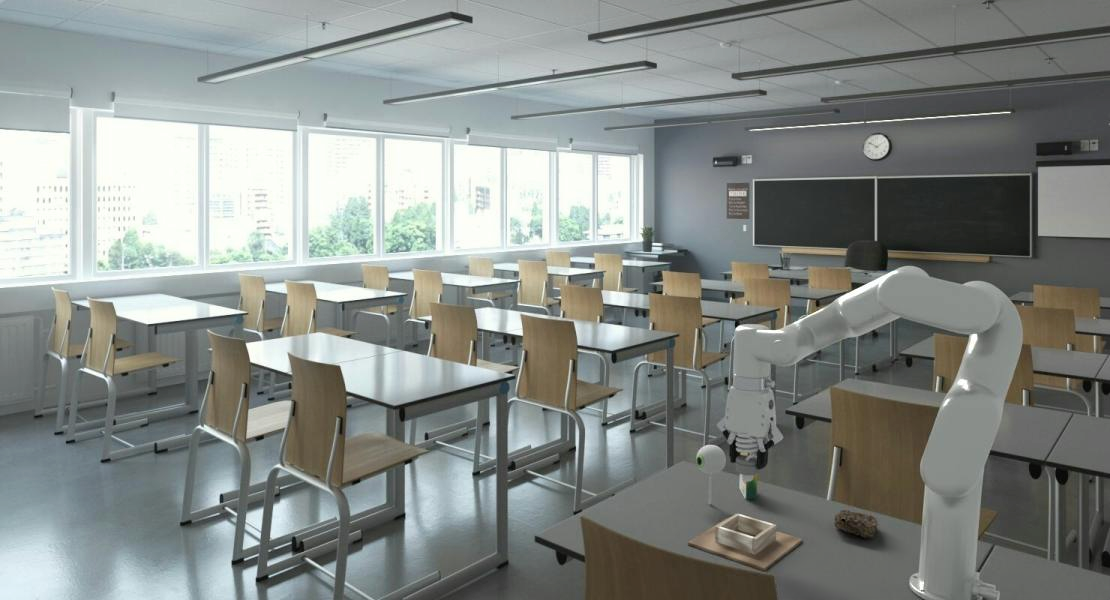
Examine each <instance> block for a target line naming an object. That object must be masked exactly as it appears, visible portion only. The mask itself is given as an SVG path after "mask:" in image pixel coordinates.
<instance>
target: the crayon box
mask: <svg viewBox="0 0 1110 600" xmlns="http://www.w3.org/2000/svg"><path fill="white" fill-rule="evenodd" d="M744 454H746V455H747V453H741V452H740V455H744ZM751 454H753V453H751ZM758 476H759V473H758V474H756V475H754V478H753V480H752V481H750V482H746V481H744V480H743V479H742V474H740V473H739V484H738V485H739V486H738V487H739V489H738V490H739V491H740V492H741V494H742V497H743V498H744V499H745V500H753V501H754V500H757V495H758V494H757V493H758Z"/></svg>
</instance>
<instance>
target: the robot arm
mask: <svg viewBox="0 0 1110 600" xmlns="http://www.w3.org/2000/svg"><path fill="white" fill-rule="evenodd" d="M900 318H903V319H905V320H907V321H908V320H909V321H912V322H916V323H919V324H923V325H927V326H930V327H934V328H938V329H941V330H945V331H949V332H953V333H956V334H961V335H969V336H968V342H967V344H966V348H965V351H964V353H963V356H962V358H961V359H962V360H961V363H960V365H959V368H958V372H957V373H956V374H957V375H956V377H955V379H954V381H953V384H952V386H951V387H950V389H949V390H948V392H947V394H945V396H944V398H943V400H942V403H941V404H940V407H939V409H938V412H937V416H936V417H935V420H934V424H933V427H932V430H931V432H930V434H929V436H928V439H927V440H928V441H927V443H926V446H925V448H924V451H923V454H922V457H921V460H920V463H919V464H920V465H919V467H920V468H919V469H920V470H919V471H920V472H919V473H920V476H921V478H922V481H923V483H924V494H923V506H922V507H923V508H922V516H921V517H922V521H921V536H920V548H919V549H920V551H919V562H918V563H919V564H918V565H919V566H918V572H915V573H913V574H912V575H911V576H910V577H909V588H910V590H911V591H912V592H913V593H914V594H915V595H916V596H918V597H920V598H921V599H922V600H983V598H986V599H987V600H1000V596H1001V592H1000V591H999V590H996V588H997V587H996V585H995V584H991V583H985V582H983V581H982V580H981V579H980V572H978V571H976V565H977V564H976V563H977V552H978V540H979V539H978V537H979V524H980V517H981V516H980V515H981V514H980V513H981V503H982V502H981V501H982V491H983V482H984V481H983V480H984V473H985V465H986V462H987V460H988V457H989V455H990V452H991V449H992V447H993V444H994V442H995V440H996V439H995V438H996V436H997V433H998V431H999V428H1000V424H1001V421H1002V417H1003V413H1004V404H1005V400H1006V397H1007V395H1008V391H1009V389H1010V385H1011V383H1012V380H1013V378H1014V373H1015V370H1016V368H1017V364H1018V362H1019V358H1020V354H1021V351H1022V346H1023V338H1024V330H1023V323H1022V319H1021V316H1020V314H1019V311H1018V309H1017V307H1016V305H1015V304H1014V303H1013V301H1012V300H1011V299H1010V297H1008V296H1007V294H1005V293H1004V292H1003V291H1002V290H1001V289H999V287H997V286H995V285H994V284H992V283H989V282H987V281H982V280H972V281H968V282H965V283H963V284H962V283H959V282H958V283H957V282H952V281H949V280H945V279H940V278H936V277H934V276H929V274H928V273H927V271H925V270H924V269H922V268H920V267H917V266H913V265H903V266H901V267H897V268H896V269H894V270H892V271H889V272H888V273H886V274H884V275H882V276H879V277H878V278H875V279H873V280H871V281H870V282H867V283H866V284H864V285H861V286H859V287H858V288H856V289H852V291H849V292H847V293H845V294H843V295H841V296H839V297H838V298H835V300H834V301H832V302H831V303H830V304H828V305H827V306H825V307H823V308H820V309H819V310H817V311H815V312H813V313H811V314H809V315H807V316H804V317H803V318H801V319H799V320H796V321H795V322H793V323H790V324H788V325H786V326H784V327H782V328H778V329H773V330H771V329H770V328H769V327H768V326H766V325H763V324H756V323H755V324H754V323H745V324H740V325H737V327H736V328H735V330H734V333H733V334H734V335H733V337H734V338H733V365H732V366H733V368H732V369H733V371H732V385H731V386H730V387H729V390H728V394H727V397H726V398H727V399H726V406H725V415H724V416H723V417H722V418H721V419H720V420H719V421H718V422H717V423H716V426H717V428H718V429H719V430H720V432H722V435H723V436H724V437H725V439H726V440H727V441H726V442H727V443H728V444H729V450H728V451H729V452H728V454H729V458H730V460H729V461H730V463H731V464H734V463H735V461H736V457H737V456H739V455H741V452H738V451H737V450H736V448H737V446H736V442H738V441H736V438H737V437H739V436H737V433H742V434H749V435H750V436H751V437H750V438H754V437H755V438H757V442H758V445H759V451H757V452H756V453H757V469H759V470H760V471H761V470H762V469H764V468H766V466H767V465H768V463H769V450H770V449H771V448H772V447H774V446H775V445H777V443H780V442H781V441H782V440H783V439H784V436H783V434H782V432H781V431H780V429H779V428H778V427H777V412H776V402H775V396H774V391H773V390H772V389H770V388H775V385H776V381H774V380H771V375H770V374H771V373H770V370H771V365H775V366H779V367H791V366H794V365H795V364H797V363H798V362H800V361H802V360H803V359H804V358H805V357H808V356H809V355H812V354H814V353H816V352H818V351H820V350H822V349H824V348H826V347H829V346H831V345H833V344H835V343H838V342H840V341H843V340H845V339H849V338H858V337H859V336H863V335H866V334H867V333H869V332H872V331H875V330H877V329H878V328H880V327H882V326H884V325H887V324H889V323H891V322H893V321H895V320H897V319H900ZM769 435H772V438H771V439H769Z"/></svg>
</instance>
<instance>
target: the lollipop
mask: <svg viewBox="0 0 1110 600" xmlns="http://www.w3.org/2000/svg"><path fill="white" fill-rule="evenodd" d="M726 457H727V456H726V454H725V452H724V451H723V449H722V448H721V447H719V446H718V445H715V444H707V445H704V446H702V447H700V449H699V450H698V451H697V454H696V458H695V461H696V464H697V467H698V468H699V470H701V472H703V473H704V474H707V475H709V476H708V478H709V479H708V505H712V497H713V496H712V495H713V494H712V492H713V491H712V490H713V485H712V484H713V475H717V474H718V473H721V472H722V471H723V469H724V468H725V467H726V464H727V463H726V462H727V458H726Z"/></svg>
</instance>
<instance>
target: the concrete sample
mask: <svg viewBox="0 0 1110 600" xmlns="http://www.w3.org/2000/svg"><path fill="white" fill-rule="evenodd" d="M833 524H834V527H835V528H837V529H840V530H843V531H844V532H847V533H849V534H850V533H851V534H855V535H856V536H861V537H862V538H864V539H866V538H867V539H868V538H874V536H875V535H876V533H877V530H878V525H879V522H878V520H877V517H875V516H873V515H872V514H867V513H866V514H864V513H861V512H857V511H851V510H849V509H842V510H839V512H837V514H835V517H834V522H833Z"/></svg>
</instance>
